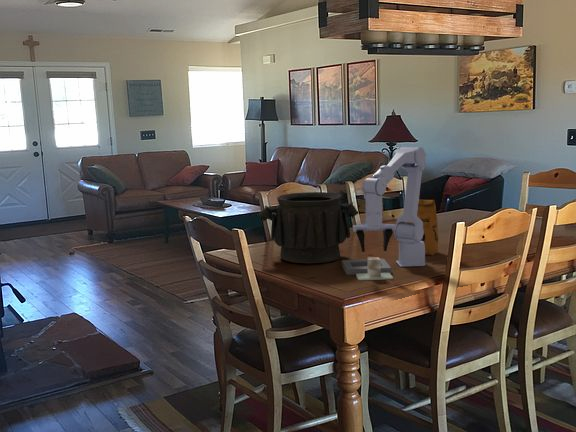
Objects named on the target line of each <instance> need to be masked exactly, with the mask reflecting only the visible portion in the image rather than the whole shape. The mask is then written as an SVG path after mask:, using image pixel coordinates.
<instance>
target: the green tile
mask: <svg viewBox="0 0 576 432" xmlns="http://www.w3.org/2000/svg"><path fill="white" fill-rule="evenodd" d="M355 277H356V278H357V280H358V281H379V280H381V281H382V280H394V277H393V275H392V273H389V272H386V273H381V277H369V276H368V274H367V273H359V274H356V275H355Z"/></svg>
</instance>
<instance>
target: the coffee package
mask: <svg viewBox="0 0 576 432" xmlns="http://www.w3.org/2000/svg"><path fill="white" fill-rule="evenodd" d="M436 206H437V205H436V201H435V199H420V198H419V202H418V211H417V216H418V217H419V218H420V219H421V220H422V221H423V230H424V234H423V237H422V239H421V240H420V241H423V242H424V244H425V255H429V256H434V255H436V254H438V253H439V230H438V229H439V228H438V227H439V225H438V216H437V207H436ZM406 223H407V224H414V223H411V222H406Z"/></svg>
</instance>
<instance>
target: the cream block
mask: <svg viewBox="0 0 576 432" xmlns="http://www.w3.org/2000/svg"><path fill="white" fill-rule="evenodd" d="M380 259H381V258H380V257H379V256H377V257H372V256H370V257H367V274H368V276H369V277H381V260H380Z"/></svg>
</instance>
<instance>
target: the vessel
mask: <svg viewBox="0 0 576 432" xmlns="http://www.w3.org/2000/svg"><path fill="white" fill-rule="evenodd" d="M276 199H277V200H276V201H277V202H278V205H277V206H272V207H271V206H267V205H265V206H264V208H263V209H262V210H261V211H260V212H259V213H258V214H257V216H258V218H260V219H261V221H262V222H265V221H267V220H270V221H271V231H270V240H271V241H274V242H275V245H277V246H278V247H280V253H279V257H280V258H281V260H284V261H287V262H291V263H300V264H323V263H324V264H325V263H330V262H334V261H337V260H338V259H340V257H341V251H340V244H342V243H344V242H345V241H346V240H347V239H350V237H351V229H350V223H349V222H350V221H349V218H348V217H351V218H352V219H355V216H357V215H359V211H358V210H357V209H356V208H355V205H354V202H350V203H340V199H341V194H339V193H334V192H326V191H325V192H322V191H309V192H294V193H293V192H291V193H286V194H282V195H279V196H277V197H276ZM342 210H345V211H346V212H345V211H343V212H342Z"/></svg>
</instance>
